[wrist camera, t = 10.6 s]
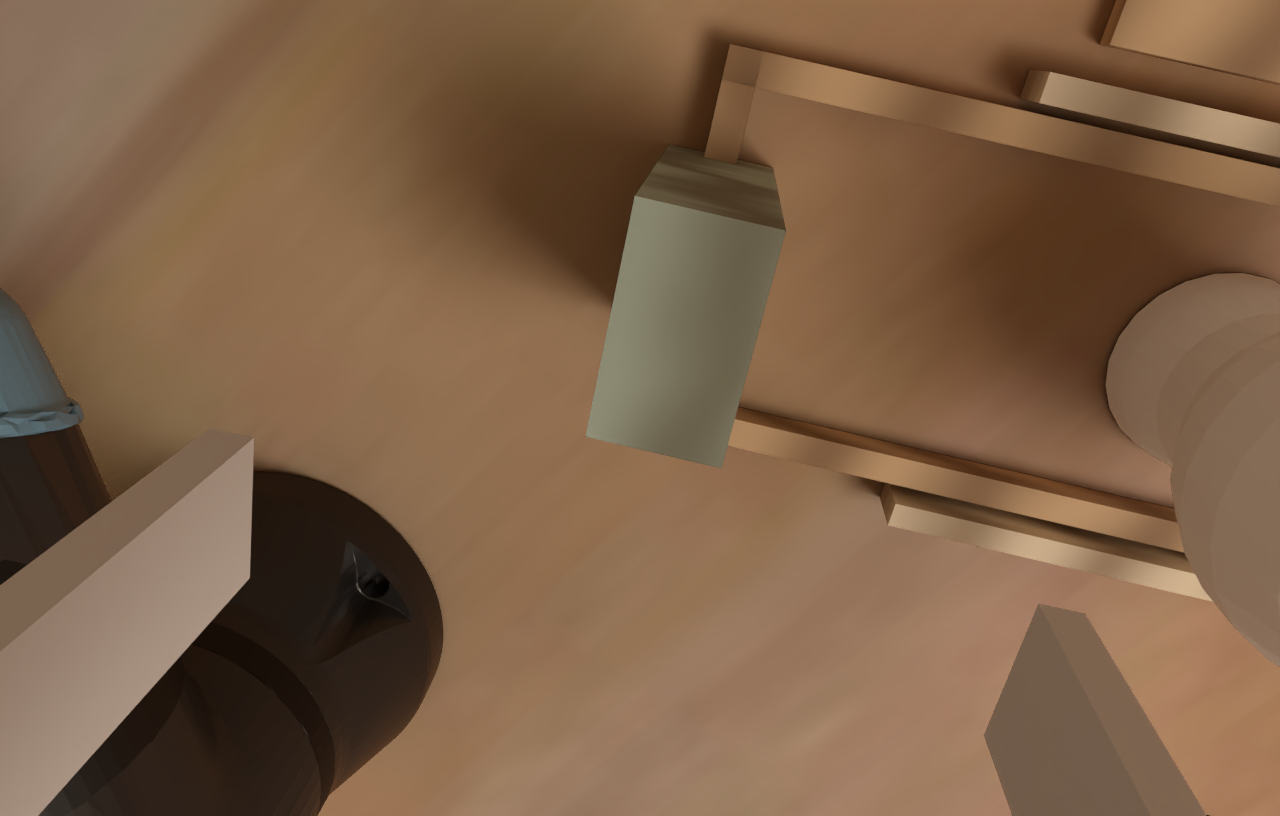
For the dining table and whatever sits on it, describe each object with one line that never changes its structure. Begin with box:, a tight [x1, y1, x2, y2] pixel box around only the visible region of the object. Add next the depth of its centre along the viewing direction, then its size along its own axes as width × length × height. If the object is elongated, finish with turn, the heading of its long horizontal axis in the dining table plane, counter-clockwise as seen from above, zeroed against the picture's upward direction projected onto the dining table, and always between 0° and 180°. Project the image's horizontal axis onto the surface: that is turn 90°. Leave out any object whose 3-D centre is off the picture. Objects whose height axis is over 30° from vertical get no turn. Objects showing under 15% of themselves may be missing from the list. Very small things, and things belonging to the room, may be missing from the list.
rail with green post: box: [586, 44, 1280, 553], centre depth 31 cm, size 27×15×12 cm, turn 78°
